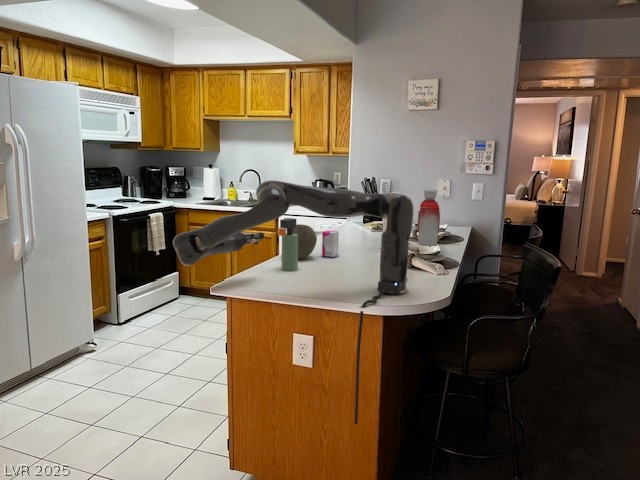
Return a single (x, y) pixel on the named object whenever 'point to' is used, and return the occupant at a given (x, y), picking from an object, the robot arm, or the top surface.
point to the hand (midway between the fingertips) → (262, 235)
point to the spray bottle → (289, 245)
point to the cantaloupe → (305, 240)
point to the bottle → (428, 219)
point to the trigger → (282, 232)
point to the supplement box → (330, 244)
